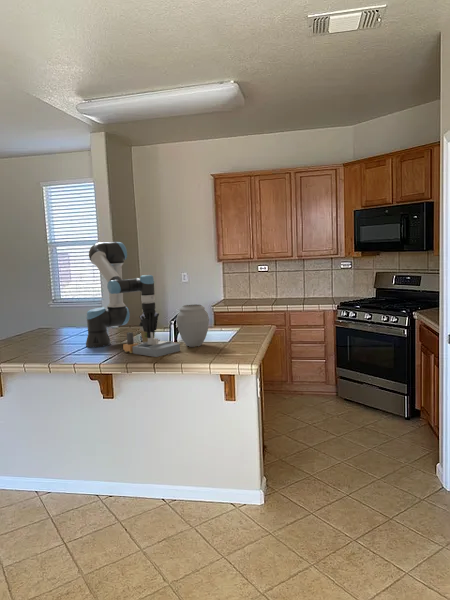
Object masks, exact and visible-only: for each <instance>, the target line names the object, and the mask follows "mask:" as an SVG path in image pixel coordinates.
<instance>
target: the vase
mask: <svg viewBox="0 0 450 600" xmlns="http://www.w3.org/2000/svg"><path fill="white" fill-rule="evenodd" d="M176 324H177V325H176V326H177V331H178V333H179V335H180V339H181V340H182V341H183V343H184V344H185V345H186V346H187V347H188V346H189V348H196V347H195V346H198V347H200V346H202V344H203V343H204V341H205V339H206V338H207V333H208V330H209V326H210V325H209V324H210V318H209V314H208V312H207V311H206V310H205V306H203V305H201V304H195V303H194V304H185V305H184V304H183V305H182V306H181V307H180V308H179V312H177V315H176Z"/></svg>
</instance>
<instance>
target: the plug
mask: <svg viewBox="0 0 450 600" xmlns="http://www.w3.org/2000/svg"><path fill="white" fill-rule="evenodd" d="M138 344H139V343H138V342H137V343H136V342H135V341H134V332H129V331H128V332H126V343H123V344H122V345H123V346H122V347H123V351H125V353H129V354H134V353H133V348H132V346H136V345H138Z"/></svg>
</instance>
